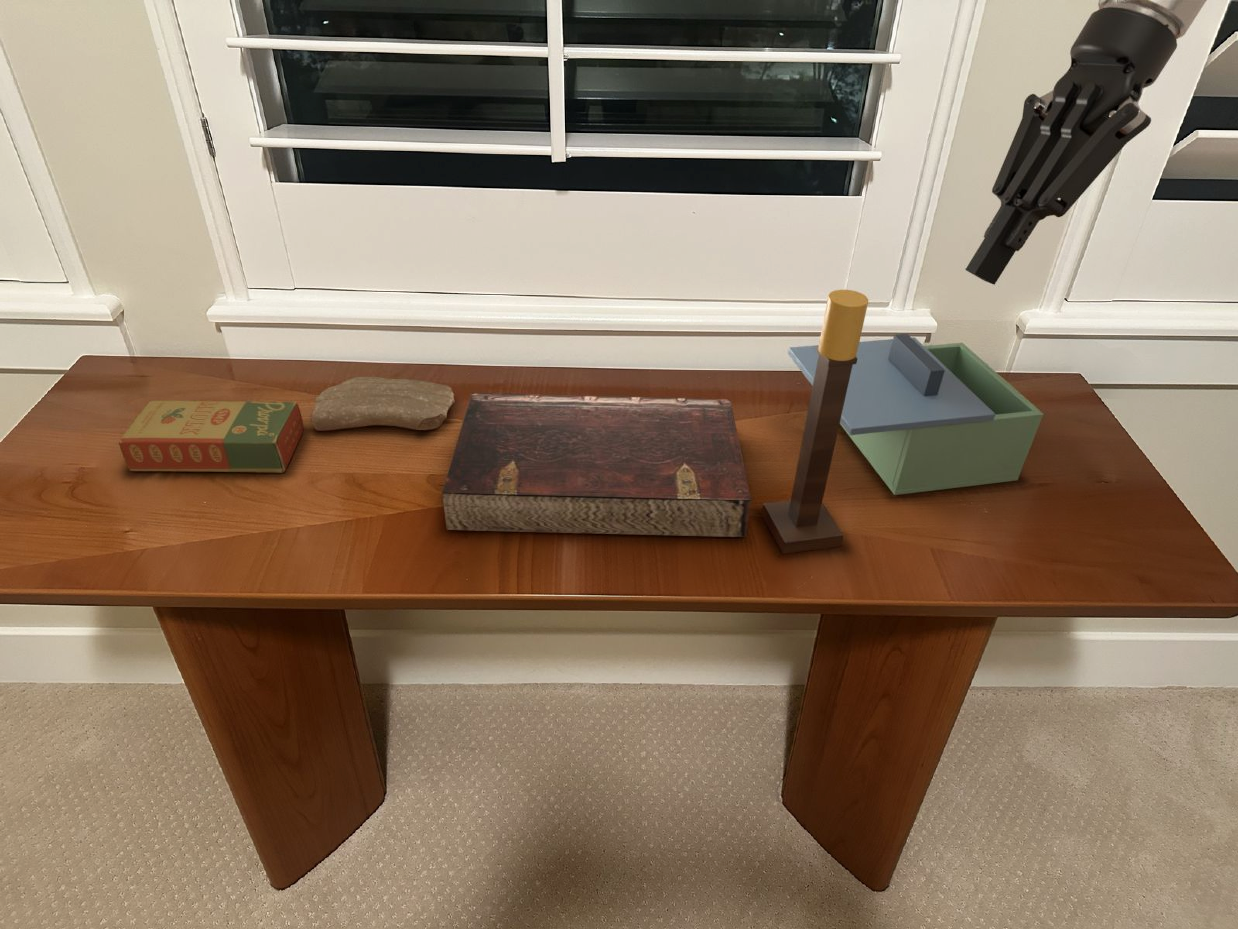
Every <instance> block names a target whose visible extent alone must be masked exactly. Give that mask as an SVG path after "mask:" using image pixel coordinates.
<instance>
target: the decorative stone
mask: <svg viewBox="0 0 1238 929" xmlns="http://www.w3.org/2000/svg"><path fill="white" fill-rule="evenodd" d="M454 394H455V393H454V392H453V390H452V387H451V386H449V385H446V384H442V383H437V382H431V381H424V380H415V379H411V378H403V379H400V378H394V379H393V378H383V377H379V376H356V377H352V378H350V379H348V380H344V381H343V382H341V383H339V384H337V385H334V386H330V387H328V388H325V389H324V390H323V391H322V392H320V394H319V395H318V396H317V397H315V405H314V410H313V411H312V412H311V419H310V420H311V423H312V426H313V428H314V430H315V431H319V432H322V431H323V432H325V431H326V432H327V431H335V430H336V431H337V430H341V429H342V430H344V429H355V428H362V427H369V426H389V427H390V426H391V427H397V428H398V427H400V428H404V429H405V428H406V429H410V430H416V431H429V430H434V429H438V428H439V427H441V425H443V423H444V421H445V420H446V419H447V417H448V411H449V410H450V409H451V407H452V406H453V405H454V404H455V395H454Z"/></svg>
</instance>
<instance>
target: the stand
mask: <svg viewBox="0 0 1238 929" xmlns="http://www.w3.org/2000/svg"><path fill="white" fill-rule="evenodd" d="M818 347H819V346H817V350H816V353H817V354H818V355H819V356H818V361H817V367H816V372H815V377H814V382H813V386H812V387H811V393H810V399H809V402H808V403H809V404H808V409H807V413H806V420H805V424H804V428H803V429H804V430H803V434H802V440H801V445H800V449H799V454H798V455H799V456H798V460H797V466H796V470H795V476H794V481H793V486H792V491H791V496H790V499H789V500H781V501H771V502H763V504H762V509H761V516H762V519H763V520H764V522H765V524H766V526H767V527H768V529H769V532H770V533H771V535H772V537H773V539H774V540H775V543H776V544H777V546H778V548H779V550H780V552H781V554H782V555H786V554H793V553H794V554H795V553H800V552H801V553H803V552H809V551H818V550H823V549H825V550H826V549H831V548H838V547H839V548H840V547H842V542H843V540H844V533H843V532H842V531H841V529H840V527H839V526H838V524H837V523H836V521H835V519H834V517H832V515H831V513H830V512H829V511H828V509H827V507H826V506H825V504H824V502H823V501H824V496H825V492H826V487H827V483H828V477H829V473H830V468H831V464H832V459H833V455H834V450H835V446H836V442H837V438H838V433H839V429H840V420H841V415H842V411H843V406H844V402H845V397H846V393H847V388H848V384H849V379H850V375H851V370H852V366H853V364H856V363H857V357H855V358H853V359H851V360H847V361H836V360H832V359H828V358H826V357H824V356H823V355H821V354H820V353H819V350H818Z"/></svg>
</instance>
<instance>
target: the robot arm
mask: <svg viewBox="0 0 1238 929" xmlns="http://www.w3.org/2000/svg"><path fill="white" fill-rule="evenodd" d="M1206 2H1207V0H1098V3H1097V6H1098V7H1097V8H1098V9H1097V10H1095V11H1093V12H1092V13H1091V14H1090V16H1089V18H1088V19H1087V21H1086V23H1085V24H1084V26H1083V27H1082V29H1081V31H1080V32H1079V34H1078V36H1077V37H1076V39H1075V41H1074V42H1073V44H1072V46H1071V47H1070V52H1069V54H1070V67H1069V68H1068V69H1067V71H1066V72H1065V73H1064V74H1063V75H1062V76H1061V77H1059V79H1058V80H1057V81H1056V83H1055V85H1054V87H1053V90H1051V91H1049V92H1047V93H1046V94H1044V95H1041V96H1040V97H1039V96H1038V95H1037V94H1035V93H1031V94H1029V95H1028V96H1027V97H1026V98H1025V99H1024V101H1023V109H1022V116H1021V120H1020V122H1019V125H1018V127H1017V129H1016V132H1015V134H1014V136H1013V139H1012V141H1011V143H1010V146H1009V148H1008V150H1007V153H1006V156H1005V158H1004V160H1003V163H1002V165H1001V167H1000V170H999V172H998V174H997V176H996V179H995V182H994V183H993V187H992V189H991V193H992V194H993V195H994V196H996V198H997V199H998V200H999V201H1000V207H999V208H998V210H997V212H996V213H995V215H994V217H993V218H992V220H991V222H990V223H989V225H988V227H987V228H986V230H985V232H984V233H983V234H984V235H983V240H982V241H981V243H980V245H979V247H978V248H977V250H976V251H975V253H974V254H973V256H972V258H971V260H969V263H968V265H967V266H966V268H964V270H965V271H966V272H968V273H970V274H971V275H973V276H975V277H976V278H979V279H981V280H982V281H984V282H986V283H989V284H992V285H994V286H995V285H996V283H997V282H998V281H999V278H1000V277H1001V276H1002V274H1003V272H1004V271H1005V270H1006V267H1008V264H1009V263H1010V261H1011V259H1012V258H1013V256H1014V255H1015V254H1016V252H1019V251H1020V250H1021V249H1022V248H1023V247H1024V245H1025V244H1026V242H1027V241H1028V239H1029V237H1030V236H1031V234H1032V233H1033V231H1034V230H1035V228H1036V227H1037V225H1038V223H1039V222H1040V221H1042V220H1044V219H1046V218H1047V217H1051V216H1055V217H1056V218H1062V217H1064V216H1065V215H1066V214H1067V212H1068V211H1069V210H1070V209H1071V208H1072V207H1073V205H1075V203H1076V202H1077V201H1078V200H1079V198H1081V197H1082V195H1083V194H1084V193H1085V192H1086V191H1087V190H1088V188H1089V187H1090V186H1091V185H1092V184H1093V183H1094V181H1095V180H1096V179H1097V178H1098V177H1099V176H1100V175H1101V173H1102V172H1103V171H1104V170H1105V169H1106V168H1107V167H1108V165H1109V164H1110V163H1111V162H1112V161H1113V160H1114V159H1115V157H1117V155H1118V154H1119V153H1120V152H1121V151H1122V150H1123V148H1124V147H1125V146H1126V145H1127V144H1128V143H1129V142H1130V141H1131V140H1133V139H1134V138H1136V136H1138V135H1139V134H1140V133H1143V131H1145V130H1146V129H1147V128H1148V127H1150V124H1151V122H1152V117H1151V116H1149V115H1148V114H1147V113H1146V112H1144V111H1143V110H1142V109H1141V107H1140V105H1139V104H1138V102H1139V101H1140V99H1141V97H1142V92H1143V89H1145V88H1149V87H1151V86H1152V85H1153V84H1154V83H1155V82H1156V81H1157V79H1158V78H1159V77H1160V74H1161V73H1162V72H1163V70H1164V68H1165V67H1166V65H1167V64H1168V62H1169V61H1170V59H1171V58H1172V56H1173V54H1174V53H1175V51H1176V50H1177V48H1178V39H1180V38H1183V37H1184V36H1185V35H1186V33H1187V32H1188V30H1189V29H1190V27H1191V25H1192V24H1193V23H1194V21H1195V19H1196V18H1197V16H1198V15H1199V14H1200V12H1201V10H1202V9H1203V7H1204V6H1205V4H1206Z"/></svg>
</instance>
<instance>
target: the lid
mask: <svg viewBox="0 0 1238 929" xmlns="http://www.w3.org/2000/svg"><path fill="white" fill-rule="evenodd" d="M817 346H819V344H818V345H815V344H814V345H804V346H803V345H802V346H791V347H788V350H787V355H788V356H789V357H790V359H791V360H792V361H793V363H794V364H795V365H796V367H797V368H798V369H799V370H800V372H801V373H802V375H804V377H805V378H806V380H807V381H808V382H809V383H810V385H811V386H812V387H813V382H814V377H815V372H816V367H817V361H818V356H819V355H818V354H817V353H816V350H817ZM924 346H925V345H924V344H923V343H921V342H920V340H918V339H917V338H916V337H911V336H910V335H909V334H908V333H899V334H894V335H893V338H890V339H879V340H865V341H859V346H858V350H857V355H856V357H857V363H856V364H853V366H852V370H851V375H850V379H849V384H848V388H847V393H846V397H845V402H844V406H843V411H842V415H841V420H840V422H841V424H842V425H843V426H844V428H845V429H846V430H847V432H848V433H849V434H850V435H857V434H866V433H876V432H886V431H896V430H905V429H915V428H925V427H934V426H944V425H954V424H963V423H973V422H983V421H992V420H994V417H995V413H994V412H993V411H992V410H991V409H990V408H988V407H987V406H986V405H985V404H984V403H983V402H982V401H981V400H980V399H979V398H978V397H977V396H976V395H975V394H974V393H973V392H972V391H971V390H970V389H969V388H967V387H966V386H965V385H964V384H963V383H962V382H961V381H960V380H959V379H958V378H957V377H956V376H955V375H954V374H953V373H952V372H951V371H950V370H949V369H948V368H946V367H945V366H944V365H943V364H942V363H941V362H940V361H939V360H938V359H937V358H936V357H935V356H934V355H933V354H932V353H931V352H930V351H929V350H928V349H927V348H925V347H924ZM844 428H843V429H844ZM847 432H846V433H847Z"/></svg>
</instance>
